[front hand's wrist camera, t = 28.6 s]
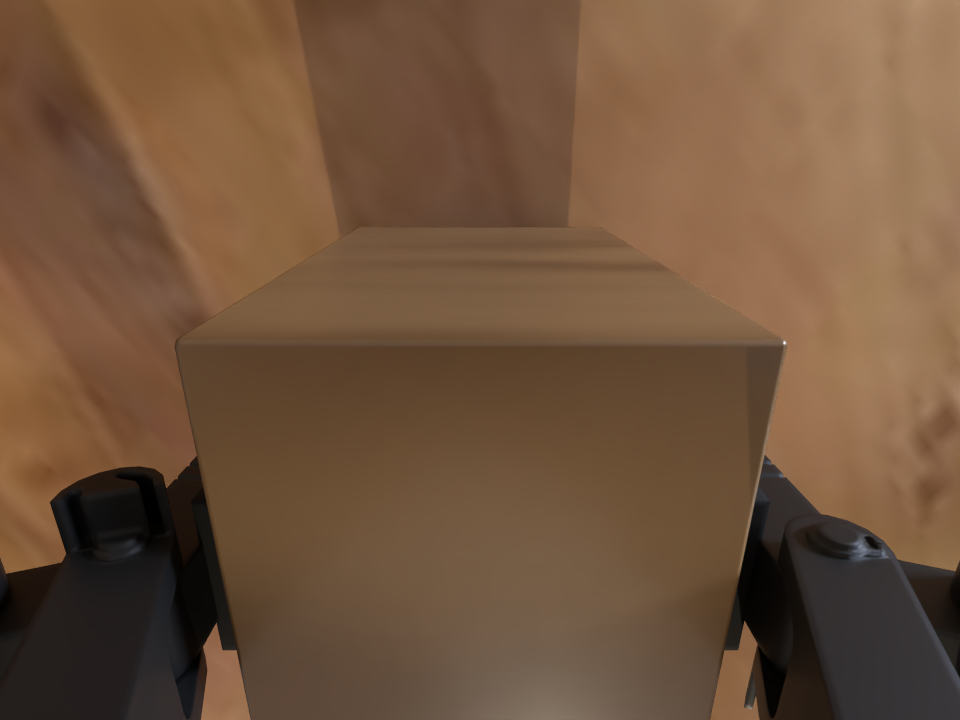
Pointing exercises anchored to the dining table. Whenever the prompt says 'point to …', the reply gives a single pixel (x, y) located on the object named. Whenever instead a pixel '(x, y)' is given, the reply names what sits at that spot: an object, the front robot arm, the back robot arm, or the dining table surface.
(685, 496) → the block
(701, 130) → the dining table surface
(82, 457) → the dining table surface
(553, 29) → the dining table surface
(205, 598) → the front robot arm
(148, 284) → the dining table surface
